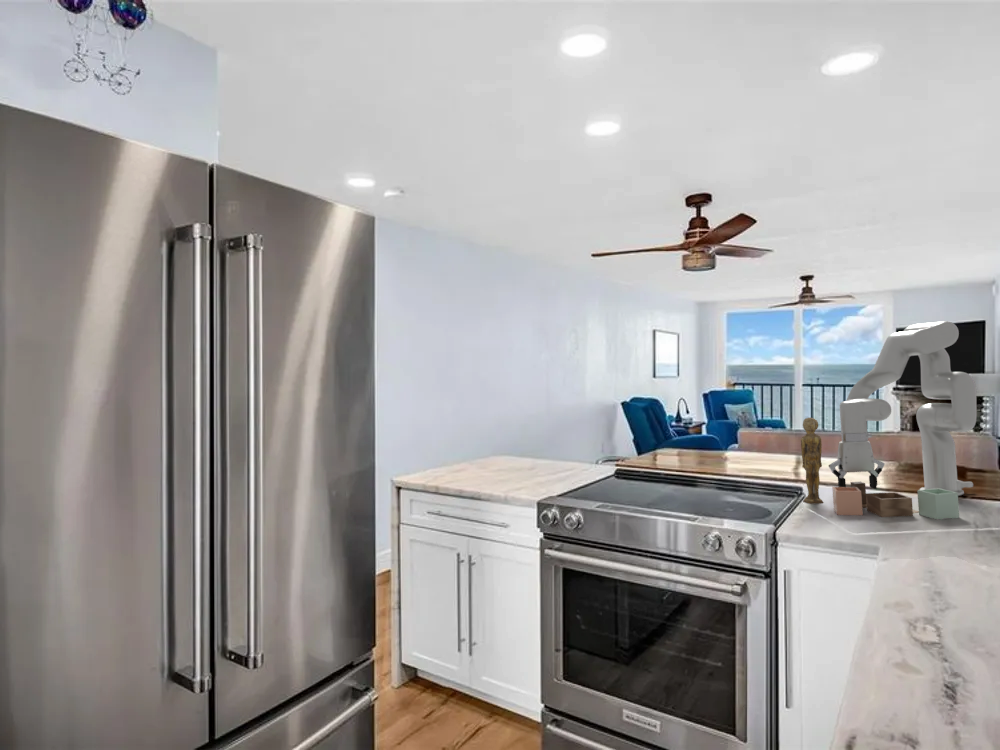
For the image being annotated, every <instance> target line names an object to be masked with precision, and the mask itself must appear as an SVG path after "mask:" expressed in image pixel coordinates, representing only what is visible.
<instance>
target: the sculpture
mask: <svg viewBox="0 0 1000 750" xmlns="http://www.w3.org/2000/svg"><path fill="white" fill-rule="evenodd" d="M802 428H803V430H805V433H806V434H805V435H803V436H801V439H800V448H801V459H802V466H801V467H802V468H803V469H804V470H805V483H806V486H807V487H806V488H807V492H808V493H807V496H805V498H804V499H803V500H802V502H803V503H805V504H809V505H810V504H815V505H816V504H824V501H823V500H822V499H821V497H820V494H819V488H820V469H821V468H822V466H823V464H822V446H823V444H822V437H821V436H820V435H818V434H816V433H815V432H816V431H817V430H818V428H819V422H818V420H817V419H816V418H813V417H806V418H804V419H803V422H802Z"/></svg>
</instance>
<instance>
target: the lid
mask: <svg viewBox="0 0 1000 750" xmlns="http://www.w3.org/2000/svg"><path fill="white" fill-rule="evenodd" d="M849 484H850V487H857V488H858V489H859V490H860V491H861V496H862V509H867V502H866V493H867V491H866V483H865V482H862V481H850V483H849Z"/></svg>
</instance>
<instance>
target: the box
mask: <svg viewBox="0 0 1000 750" xmlns="http://www.w3.org/2000/svg"><path fill="white" fill-rule="evenodd" d="M866 502H867V508H866V511H867V512H869V513H872V514H873V515H877V516H878V517H881V518H890V517H891V518H893V517H896V518H897V517H914V513H913V510H914V509H913V498H912V497H911V496H907V495H904V494H902V493H899V492H897V491H896V492H895V491H892V492H868V493H867V492H866Z"/></svg>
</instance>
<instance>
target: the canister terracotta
mask: <svg viewBox="0 0 1000 750" xmlns="http://www.w3.org/2000/svg"><path fill="white" fill-rule="evenodd" d="M832 500H833V501H832V504H833V511H834V512H835V513H836V515H837V516H839V515H840V516H863V515H864V514H863V511H864V510H863V508H862V496H861V491H860V490H859V489H858V488H857V487H851V486H846V487H839V486H832Z"/></svg>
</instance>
